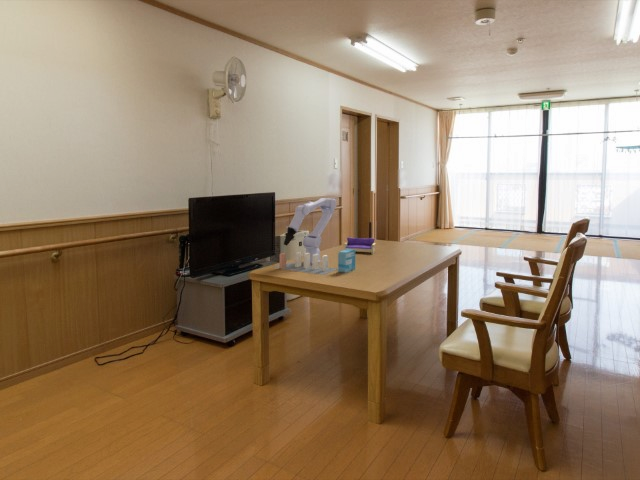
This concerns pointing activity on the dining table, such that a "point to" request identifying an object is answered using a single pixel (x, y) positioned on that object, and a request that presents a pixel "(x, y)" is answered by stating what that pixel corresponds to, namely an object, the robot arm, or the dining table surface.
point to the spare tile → (282, 260)
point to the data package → (346, 260)
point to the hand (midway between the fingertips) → (286, 242)
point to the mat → (309, 270)
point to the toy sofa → (360, 244)
